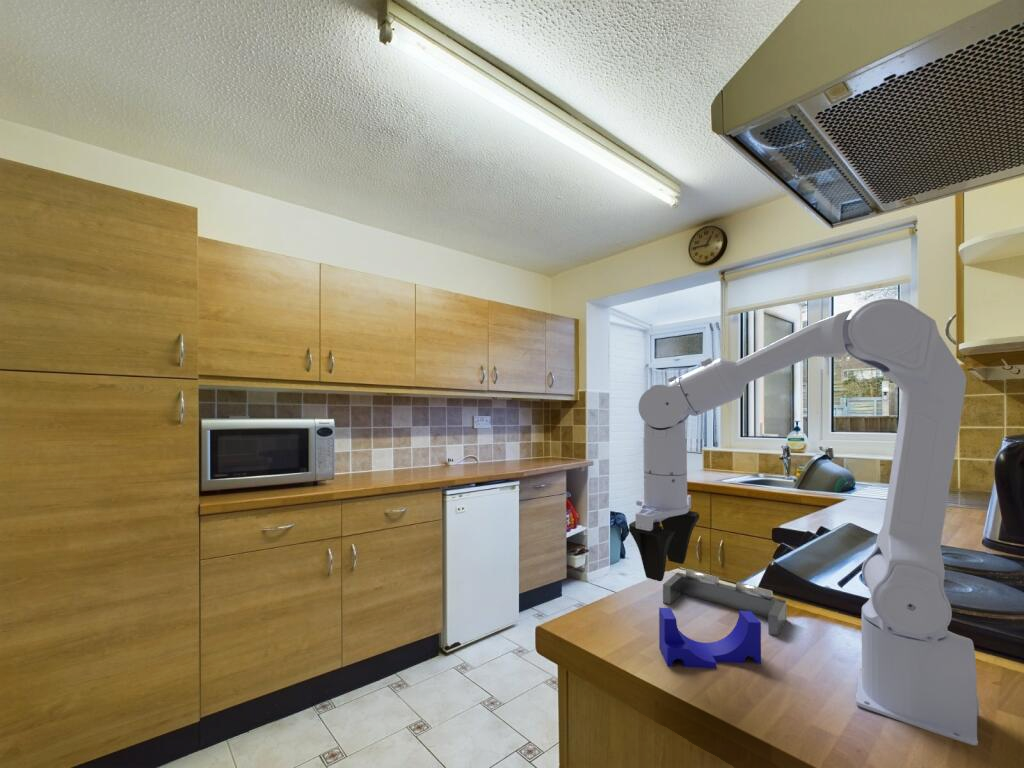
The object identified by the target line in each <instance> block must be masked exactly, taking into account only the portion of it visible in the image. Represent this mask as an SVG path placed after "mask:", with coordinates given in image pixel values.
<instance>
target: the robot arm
mask: <svg viewBox="0 0 1024 768" xmlns="http://www.w3.org/2000/svg"><path fill="white" fill-rule="evenodd" d="M851 313H852V309H849V310H845V311H842V312H840V313H836V314H834V315H831V316H828V317H827V318H826V317H825V318H824V319H821V320H819V321H816V322H813V323H811V324H809V325H807V326H805V327H803V328H801V329H798V330H797V331H794V332H793V333H791V334H789V335H788V334H787V336H785V337H783V338H780V339H778V340H776V341H774V342H772V343H771V344H768V345H766V346H764V347H763V348H760V349H758V350H755V352H752V353H751V354H748V355H746V356H744V357H741V358H740V359H737V361H736V360H735V361H734V360H730V359H727V358H724V357H719V358H716V359H714V360H713V359H712V358H711V357H707V358H704V359H703V360H700V365H701V366H699V367H698V368H695V369H692V370H691V371H689V372H687V373H684V374H683V375H680V376H678V377H677V376H676V375H672V376H669V377H668V378H667V381H668V385H667V384H666V385H665V384H653V385H651V387H650V388H649V389H647V390H646V391H645V392H643V393H642V395H641V396H640V398H639V402H638V413H639V415H640V417H641V419H642V420H643V497H641V498H638V499H637V500H636V502H635V503H636V504H635V505H636V506H640V509H639V510H638V512H636V513H635V520H633V521H631V522H630V523H629V525H628V531H629V533H630V535H631V536H632V538H633V540H634V542H635V544H636V546H637V548H638V551H639V554H640V558H641V562H642V566H643V570H644V573H645V574H644V575H645V578H647V579H649V580H653V581H657V582H662V581H663V579H664V578H665V577H664V576H665V571H666V566H667V565H666V564H667V563H666V562H667V560H668V561H669V562H671V563H676V564H680V565H683V564H685V561H686V557H687V554H688V549H689V544H690V539H691V536H692V533H693V531H694V528H695V526H696V525H697V522H698V521H699V519H700V513H699V512H696V511H691V510H690V509H691V508H692V495H690V494H688V450H687V449H688V445H687V443H688V441H687V438H686V434H687V433H686V421H687V419H688V418H689V416H693V417H697V416H699V415H702V414H704V413H707V412H708V411H709V412H710V411H711V410H714V409H716V408H719V407H720V406H723V405H726V404H728V403H730V402H733V401H735V400H737V399H740V398H742V396H743V395H744V391H745V389H746V387H747V384H748V383H750V382H751V383H752V382H753V381H756V380H758V379H760V378H764V377H765V376H768V375H770V374H773V373H776V372H778V371H781V370H782V369H786V368H788V367H790V366H793V365H795V364H797V363H800V362H803V361H805V360H809V359H810V358H813V357H821V358H823V357H825V358H841V357H842V356H845V354H846V353H848V355H849V356H850V357H852V358H854V359H856V360H858V361H860V362H861V363H864V364H866V365H868V366H871V367H873V368H875V369H877V370H879V371H881V373H882V374H883V375H884V376H885V377H886V378H888V380H890V381H891V382H892V383H893V384H894V385H895V386H896V387H898V388H899V389H900V390H901V391H902V396H901V397H902V398H901V403H900V409H899V416H898V422H897V423H898V424H897V430H896V437H895V442H894V449H893V456H892V462H891V469H890V476H889V482H888V483H889V484H888V488H887V495H886V501H885V508H884V515H883V520H882V521H883V523H882V526H881V529H880V530H879V532H878V534H877V537H876V541H875V542H876V543H875V546H874V548H873V550H872V552H871V553H870V554H868V555H867V557H866V558H865V559H864V560H863V563H862V566H861V567H862V568H861V575H862V579H863V582H864V583H865V585H866V587H867V589H868V592H869V595H870V597H869V599H868V600H867V601H866V602H865V603H864V604H863V605H862V607H861V668H859V672H858V678H857V685H856V686H857V687H856V696H855V704H856V705H857V706H859V707H860V708H862V709H866V710H869V711H871V712H874V713H877V714H880V715H883V716H886V717H888V718H891V719H894V720H897V721H900V722H902V723H904V724H905V723H906V724H908V725H911V726H913V727H917V728H920V729H923V730H926V731H928V732H931V733H933V734H936V735H941V736H942V737H943V736H944V737H947V738H950V739H952V740H955V741H959V742H962V743H965V744H968V745H971V746H978V744H979V741H978V740H979V739H978V717H979V716H980V704H979V703H980V702H979V697H978V695H977V694H978V691H977V690H978V688H977V687H978V686H977V683H978V681H977V679H978V678H977V664H976V652H975V645H974V641H973V640H972V639H971V638H969V637H966V636H963V635H960V634H957V633H954V632H952V631H949V630H948V627H949V625H950V624H951V621H952V615H953V612H952V611H953V610H952V606H951V602H950V601H949V599H948V597H947V594H946V592H945V588H944V587H945V585H944V582H945V576H946V571H945V566H944V565H945V564H944V558H943V554H942V547H941V544H942V543H941V542H942V538H943V531H944V524H945V519H946V512H947V505H948V500H949V494H950V488H951V481H952V476H953V468H954V462H955V455H956V450H957V443H958V436H959V431H960V427H961V426H960V425H961V418H962V412H963V407H964V400H965V394H966V388H967V387H966V386H967V375H966V373H965V371H964V369H963V368H962V367H961V365H960V363H959V362H958V361H957V359H956V357H955V356H954V355H953V353H952V351H951V350H950V348H949V347H948V345H947V344H946V342H945V340H944V339H943V337H942V335H941V334H940V331H939V327H938V326H937V323H936V320H935V319H934V318H932V317H930V316H929V315H927V314H926V313H924V312H923V311H922V310H920V309H918V308H917V307H915V306H913V305H912V304H911V303H909V302H906V301H904V300H900V299H896V298H881V299H876V300H873V301H870V302H868V303H865V304H864V305H862V306H861V307H860V308H858V309H857V310H856V311H855V312H854V314H852V315H851V318H850V319H847V318H848V317H849V315H850V314H851Z"/></svg>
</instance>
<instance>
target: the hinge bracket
mask: <svg viewBox="0 0 1024 768" xmlns="http://www.w3.org/2000/svg"><path fill="white" fill-rule="evenodd" d="M681 595H686V596H689V597H693V598H696V599H700V600H703V601H707V602H711V603H714V604H717V605H721V606H724V607H728V608H731V609H734V610H738V611H751V612H752V613H753V614H754V615H755V616H760V617H764V618H766V619H767V620H768V623H767V625H768V632H767V634H768V635H770V636H773V637H774V636H775V637H779V635H780V633H781V632H782V630H783V627H784V626H785V624H786V621H787V599H783V598H779V597H776V596H773V595H774V593H773V590H771V589H766V588H763V587H759V586H755V585H751V584H747V583H743V582H739V581H737V582H736V584H735V586H733V585H728V584H725V583H720V578H719V576H715V575H711V574H707V573H704V572H698V571H695V570H691V569H686V570H685V573H682V572H676V573H675V574H673V576H671V577H670V578H669V579H668V580H666V581H665V582H664V583H663V584H662V603H663V604H666V605H670V606H671V605H672V604H673V603H674V602H675V601H676V599H678V598H679V597H680V596H681Z"/></svg>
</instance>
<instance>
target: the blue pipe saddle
mask: <svg viewBox="0 0 1024 768" xmlns="http://www.w3.org/2000/svg"><path fill="white" fill-rule="evenodd" d="M658 609H659V610H658V618H659V619H658V620H659V621H658V626H659V628H658V634H659V635H658V636H659V637H658V639H659V641H658V642H659V643H658V645H659V648H658V649H659V651H660V652H661V656H662V658H663V660H664V663H665V664H666V667H672V668H673V663H674V661H675V660H677V659H679V660H680V663H681V664H682V666H683V667H684V668H695V669H696V668H698V669H717V663H725V664H726V663H730V664H733V663H734V664H746V663H745V660H746V658H747V657H750V658H751V659H752V661H753V662H754V663H755V664H756V665H761V664H762V623H761V621H760V620H759V619H758V618H757V616H756V614H753V613H752V612H751V611H742V610H738V618H737V621H736V624H735V626H734V628H733V629H732V630H731V631H730V633H728V634H727V635H726V636H725V637H723V638H721V639H718V640H717V641H711V642H700V641H697V640H694V639H692V638H689V637H687V635H685V634H683V633H682V631H680V630H679V628H678V624H677V618H676V615H675V614H674V612H673V609H672V608H671V607H659V608H658Z"/></svg>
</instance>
